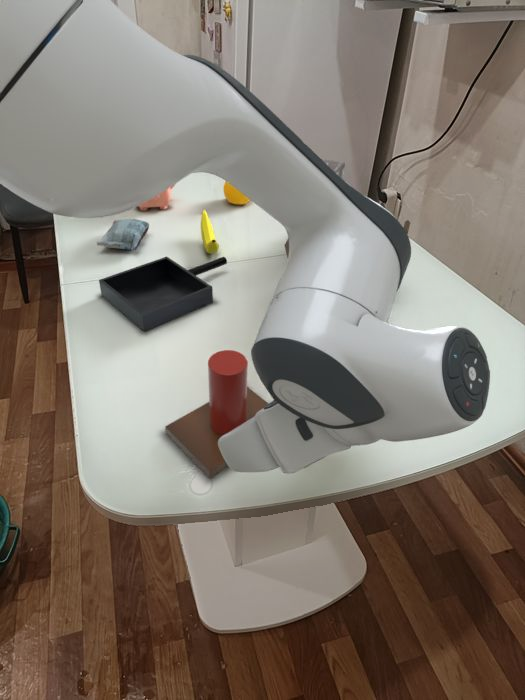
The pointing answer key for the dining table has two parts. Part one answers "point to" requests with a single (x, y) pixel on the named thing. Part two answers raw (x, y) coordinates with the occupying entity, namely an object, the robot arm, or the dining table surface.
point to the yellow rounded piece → (234, 195)
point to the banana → (208, 234)
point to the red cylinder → (227, 390)
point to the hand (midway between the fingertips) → (268, 416)
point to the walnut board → (206, 435)
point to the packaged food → (125, 234)
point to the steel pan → (158, 291)
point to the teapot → (158, 200)
